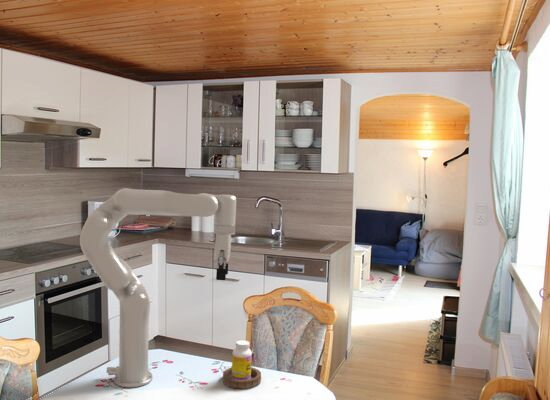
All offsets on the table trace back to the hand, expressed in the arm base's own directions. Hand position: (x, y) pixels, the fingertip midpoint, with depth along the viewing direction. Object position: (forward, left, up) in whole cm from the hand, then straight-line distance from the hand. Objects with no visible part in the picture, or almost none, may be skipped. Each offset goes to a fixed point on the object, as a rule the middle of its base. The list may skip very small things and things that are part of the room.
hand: (222, 277), depth 178 cm
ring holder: (+8, -8, -34) cm, 36 cm away
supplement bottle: (+8, -8, -34) cm, 36 cm away
